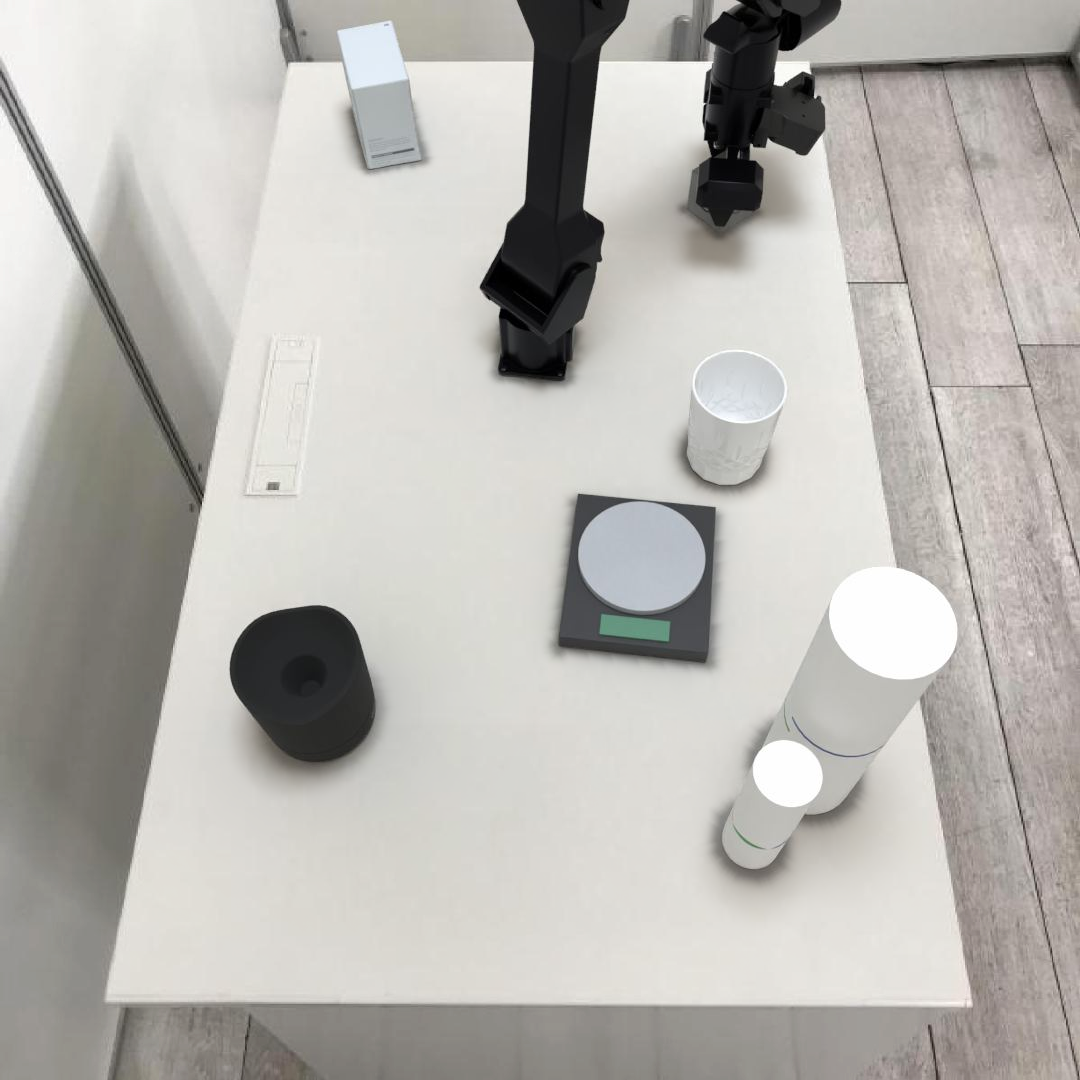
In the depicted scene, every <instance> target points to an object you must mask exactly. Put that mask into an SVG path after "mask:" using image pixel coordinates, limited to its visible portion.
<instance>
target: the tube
mask: <svg viewBox="0 0 1080 1080" xmlns="http://www.w3.org/2000/svg"><path fill="white" fill-rule="evenodd" d="M762 747H763V746H762ZM762 747H761V749H760V750H759V751H758V753H757V754H756V755H755V757H754V760H753V762H752V764H751V766H750V769H749V771H748V773H747V775H746V778H745V780H744V782H743V783H742V786H741V788H740V791H739V793H738V794H737V798H736V799H735V802H734V804H733V806H732V809H731V810H730V813H729V815H728V817H727V819H726V821H725V824H724V826H723V828H722V831H721V832H722V833H721V843H722V848H723V850H724V852H725V854H726V856H727V857H728V858H729V859H730V860H731V861H732V862H733V863H734V864H736V865H738V866H739V867H742V868H744V869H749V870H760V869H763V868H766V867H768V866H769V865H771V863H773V862H774V860H775V859H776V858H777V857H778V855H779V853H780V852H781V850H782V849H783V847H784V846H785V845H786V843H787V841H788V840H789V839H790V837H791V835H792V834H793V832H794V831H795V829H796V828H797V826H798V825H799V823H800V822H801V820H802V819H803V817H804V816H805V815H806V814H805V813H806V811H807V810H808V808H809V806H810V805H811V803H812V802H813V800H814V799H815V797H816V796H817V794H818V792H819V791H820V789H821V785H822V779H823V775H822V769H821V766H820V763H819V761H818V760H817V758H816V757H815V755H814V754H813V753H812V752H811V751H810V750H809V749H808V748H806V747H805V746H803V745H801V744H799V743H796V742H794V741H788V740H780V741H775V742H772V743H769V744H768V745H766V746H765V747H763V748H762Z"/></svg>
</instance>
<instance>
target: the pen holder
mask: <svg viewBox="0 0 1080 1080" xmlns="http://www.w3.org/2000/svg"><path fill="white" fill-rule="evenodd" d="M362 646H363V645H362V642H361V640H360V636H359V634H358V631H357V629H356V627H355V626H354V624H353V623H352V622H351V620H350V619H348V617H347V616H346V615H344V614H343V613H342V612H341V611H339V610H337V609H335V608H334V607H330V606H327V605H321V604H315V605H303V606H296V607H290V608H284V609H278V610H273V611H269V612H267V613H264V614H262V615H260V616H258V617H257V618H255V619H254V620H253V621H251V622H250V623H249V624H248V625H246V627H245V628H244V629H243V630H242V632H241V633H240V635H239V636H238V637H237V640H236V641H235V644H234V646H233V649H232V651H231V654H230V659H229V669H228V670H229V678H230V683H231V686H232V689H233V691H234V693H235V695H236V696H237V698H238V700H239V701H240V703H242V705H243V706H244V707H245V709H246V710H247V712H249V714H250V715H251V716H252V717H253V719H254V720H255V721H256V723H257V724H258V725H259V726H260V728H261V729H262V730H263V732H264V733H265V734H266V735H267V736H268V737H269V739H270V740H271V741H272V742H273V743H274V744H275V746H276V747H277V748H278V749H279V750H281V752H283V753H284V754H286V755H287V756H289V757H291V758H294V759H295V760H298V761H301V762H307V763H324V762H329V761H332V760H335V759H339V758H340V757H343V756H345V755H347V754H348V753H349V752H351V751H353V749H355V748H356V747H357V746H359V744H360V743H362V741H363V740H364V739H365V738H366V736H367V734H368V733H369V731H370V730H371V727H372V725H373V722H374V719H375V715H376V695H375V691H374V687H373V682H372V679H371V675H370V672H369V667H368V664H367V661H366V657H365V654H364V649H363V647H362Z"/></svg>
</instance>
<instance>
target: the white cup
mask: <svg viewBox="0 0 1080 1080" xmlns="http://www.w3.org/2000/svg"><path fill="white" fill-rule="evenodd" d="M691 379H692V380H691V387H690V388H691V389H690V398H689V399H690V400H689V410H688V418H687V419H688V420H687V421H688V422H687V437H688V438H687V449H686V458H687V459H688V463H689V464H690V467H691V469H692V470H693V471H694V472H695V473H696V474H697V475H698V476H699V477H700V478H702V480H704V481H707V482H710V483H713V484H716V485H718V486H729V485H731V486H734V485H735V486H737V485H738V484H741V483H743V482H746V481H747V480H749V479H751V478H752V477H753V476H754V475H755V473H756V472H757V471H758V470H759V468H760V467H761V464H762V461H763V459H764V456H765V454H766V453H767V450H768V448H769V446H770V442H771V440H772V438H773V436H774V433H775V431H776V427H777V425H778V422H779V419H780V417H781V413H782V411H783V408H784V406H785V403H786V401H787V396H788V383H787V380H786V377H785V375H784V373H783V372H782V370H781V369H780V367H779V366H777V364H776V363H774V362H773V361H772V360H771V359H769V358H768V357H766V356H764V355H762V354H760V353H757V352H754V351H750V350H746V349H726V350H721V351H717V352H715V353H713V354H710V355H709V356H707V357H706V358H704V359H703V360H702V361H701V362H700V363H699V364H698V365H697V366H696V368H695V369H694V372H693V375H692V378H691Z"/></svg>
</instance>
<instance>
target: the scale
mask: <svg viewBox="0 0 1080 1080" xmlns="http://www.w3.org/2000/svg"><path fill="white" fill-rule="evenodd" d="M576 497H577V498H576V504H575V512H574V513H575V514H574V521H573V528H572V536H571V542H570V543H571V544H570V551H569V559H568V565H567V574H566V580H565V587H564V594H563V595H564V596H563V603H562V611H561V619H560V626H559V633H558V646H559V647H565V648H574V649H582V650H592V651H600V652H601V651H602V652H609V653H620V654H628V655H636V656H646V657H654V658H664V659H673V660H682V661H683V660H684V661H691V662H701V663H706V662H707V659H708V655H709V650H710V649H709V648H710V647H709V646H710V629H711V627H710V625H711V610H712V609H711V606H712V589H713V570H714V569H713V568H714V550H715V549H714V547H715V546H714V545H715V529H716V512H717V511H716V510H717V507H716V506H711V505H698V504H689V503H678V502H671V501H670V502H668V501H659V500H658V501H657V500H648V499H637V498H629V497H619V496H618V497H617V496H607V495H598V494H587V493H577V496H576Z"/></svg>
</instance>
